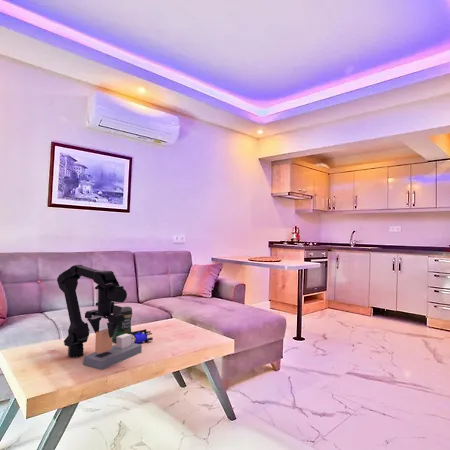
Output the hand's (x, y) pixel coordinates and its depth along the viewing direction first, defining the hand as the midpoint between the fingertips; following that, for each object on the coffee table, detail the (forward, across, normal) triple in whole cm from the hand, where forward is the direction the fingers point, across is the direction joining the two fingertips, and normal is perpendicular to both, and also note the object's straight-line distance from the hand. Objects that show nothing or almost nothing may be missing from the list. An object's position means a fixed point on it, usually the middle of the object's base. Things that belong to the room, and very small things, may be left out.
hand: (104, 336), depth 146 cm
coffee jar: (+13, +15, -26) cm, 33 cm away
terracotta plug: (+6, 0, 0) cm, 6 cm away
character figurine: (+13, +5, -28) cm, 31 cm away
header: (+12, 0, -6) cm, 14 cm away
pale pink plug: (+11, 0, -12) cm, 17 cm away
